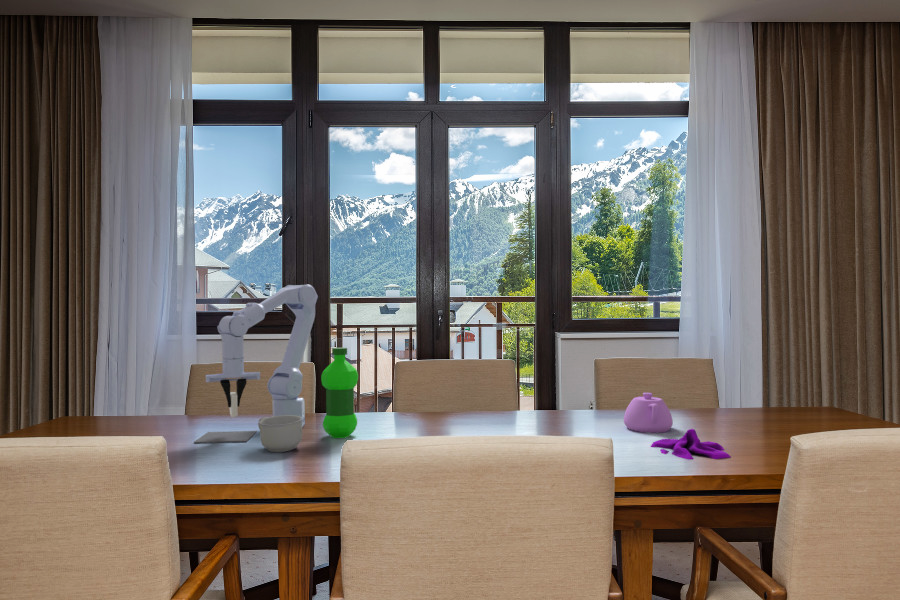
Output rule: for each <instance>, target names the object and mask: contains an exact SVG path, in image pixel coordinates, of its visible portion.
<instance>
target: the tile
mask: <svg viewBox="0 0 900 600" xmlns="http://www.w3.org/2000/svg"><path fill="white" fill-rule="evenodd" d="M230 398H231V407H229V414H230V417H231V418H238V412H239V410H238V406H237V391H230Z"/></svg>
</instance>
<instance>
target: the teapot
mask: <svg viewBox="0 0 900 600" xmlns="http://www.w3.org/2000/svg"><path fill="white" fill-rule="evenodd" d="M673 421H674V420H673V417H672V413H671V410H670V409H669V407H668V405H667V404H666V403H665V401H664V400H663V398H661V397H660V398H659V397H656V396H653V393H652V392H643V393H642V396H640V395H639V396H636V397H634V398H632V400H631V401H630V403H629V404H628V406H627V407H626V409H625V413H624V416H623V423H624V426H626V428H627V429H628V428H629V430H630V429H631V430H630V431H633V430H634V431H633V432H637V431H640V432H639V433H646V432H650V433H651V434H653V433H656V434H659V433H666V432H669V430H670V429H671V428H672V427H673V424H674V423H673Z"/></svg>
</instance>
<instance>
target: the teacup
mask: <svg viewBox="0 0 900 600" xmlns="http://www.w3.org/2000/svg"><path fill="white" fill-rule="evenodd" d="M257 425H258V429H259V436H260V442H261V445H262V447H264V449H267V450H268V451H269V452H272V453H283V452H290V451H293V450H294V449H296V447H297V446H298V445H299V444H300V443H301V441H302V438H303V427H302V418H301V417H300V416H295V415H280V416H273V415H272V416H270V417H269V416H268V417H266V416H264V417H261V418H260V419H259V420H258V423H257Z"/></svg>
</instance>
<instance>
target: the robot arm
mask: <svg viewBox="0 0 900 600" xmlns="http://www.w3.org/2000/svg"><path fill="white" fill-rule="evenodd" d="M318 298H319V296H318V294H317V292H316V290H315V287H314V286H313V285H311V284H300V285H299V284H298V285H297V284H296V285H293V284H287V285H286V286H284V287H282V288H280V289H279V290H278V291H276V292H275V293H273V294H271V295H270V296H269V297H268V298H267V297H266V299H264V300H263V301H261V302H260V303H257V302H248V303H246V304H245V307H243V308H241V309H240V310H235V311H233V312H232V313H233V314H232V315H226V316H223V317H222V318H221V319H220V321H219V323H218V325H217V326H216V327H217V331H218V333H219V335H220V337H221V339H220V340H221V341H222V342H221V345H222V346H221V347H222V348H221V351H222V353H221V356H222V359H221V360H222V361H221V362H222V366H221V367H222V373H216V374H215V373H214V374H206V375H205V383H214V382H215V383H216V382H217V383H218V382H219V383H220V385H221V387H222V390H223V392H224V394H225V397H226V401H227V407H228V408H230V407H231V398H230V392H231V382H233V381H236V382H235V384H236V394H237V406H238V407H240V405H241V399H242V396H243V393H244V390H245V388H246V386H247V382H248V380H249V381H250V380H252V381H253V380H256V381H258V380H261V372H260V371H254V372H253V371H252V372H248V371H246V372H245V359H244V358H245V356H244V353H245V352H244V349H245V348H244V343H245V342H244V336H245V335H246V334H247V332H248V330H249V329H250V328H252V327H254V326H255V325H257V324H258V323H260V322H261V321H263V320H264V319H265V316H266V314H267V313H269V312H271V311H273V310H274V309H276V308H278V307H280V306H281V305H284V304H285V305H286V306H287V307H288V308H289V309H290V311H292V313H293V314H294V316H295V320H294V324H293V327H292V330H291V332H290V336H289V339H288V342H287V346H286V347H285V352H284V355H283V358H282V362H281V364H280V365H279V366H278V367H276V369H274V371H273V373H272V376H271V377H270V378H269V379H268V381H267V387H266V388H267V391H268V393H269V394H270V395H271V398H272V417H273V416H280V415H295V416H300V417H301V418H302V428H303V427H304V426H305V425H306V418H305V416H306V414H305V412H306V411H305V409H306V408H305V406H306V405H305V398H304V397H299V395H300V394H301V393H302V389H303V379H304V378H303V377H304V375H303V373H302V372H301V370H300V367H301V364H302V360H303V357H304V354H305V350H306V348H307V344H308V341H309V338H310V334H311V330H312V328H313V324H314V323H315V318H316V303H317V300H318Z"/></svg>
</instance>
